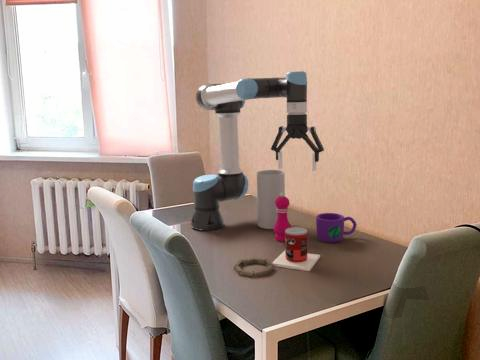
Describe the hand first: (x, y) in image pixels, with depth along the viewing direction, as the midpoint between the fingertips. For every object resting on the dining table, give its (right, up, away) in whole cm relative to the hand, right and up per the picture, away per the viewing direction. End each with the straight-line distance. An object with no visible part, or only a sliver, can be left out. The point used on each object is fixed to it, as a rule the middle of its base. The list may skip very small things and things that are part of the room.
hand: (297, 169), depth 180 cm
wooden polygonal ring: (-17, -36, -13) cm, 42 cm away
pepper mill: (-4, -29, +17) cm, 34 cm away
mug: (+19, -29, +16) cm, 38 cm away
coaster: (-1, -34, -8) cm, 35 cm away
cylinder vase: (-7, -25, +36) cm, 45 cm away
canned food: (-1, -33, -8) cm, 34 cm away
